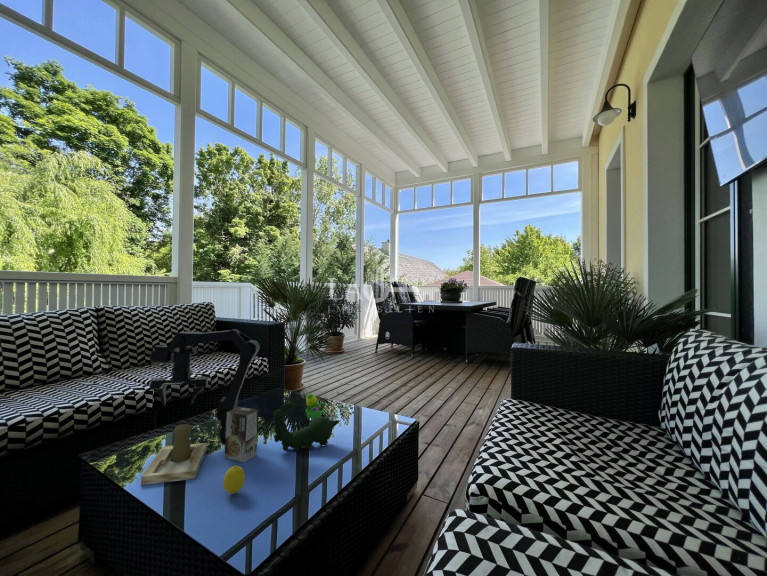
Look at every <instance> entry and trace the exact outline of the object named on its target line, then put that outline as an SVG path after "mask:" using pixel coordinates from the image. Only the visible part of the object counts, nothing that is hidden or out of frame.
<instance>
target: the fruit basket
mask: <svg viewBox="0 0 767 576" xmlns="http://www.w3.org/2000/svg"><path fill="white" fill-rule="evenodd" d="M305 399H306V400H305V401H306V402H305V403H306V406H307V407H306V409H305V413H306V417H307V419H308V418H311V419H314V418H316V417H319V416H321V415H322V413H323V414H324V412H325V408H326V405H327V404H326V403H325V402H324V403H323V402H320V403H319V402H318V401H319V400H318V398H317V397H316V396H315V395H314V394H313V393H307V395H306V398H305ZM322 416H323V415H322Z"/></svg>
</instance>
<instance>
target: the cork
mask: <svg viewBox="0 0 767 576" xmlns="http://www.w3.org/2000/svg"><path fill="white" fill-rule="evenodd" d="M192 429H193V428H192V425H191V424H188V423H185V424H184V423H183V424H180V425H177V426H175V428H174V430H173V435H174V442H173V445H172V446H173V450H172V454H171V459H170V461H171V462H183V461H186V460H188V459H190V456H191V450H190V444H191V440H190V434H191V433H192V431H193V430H192Z"/></svg>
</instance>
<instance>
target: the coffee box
mask: <svg viewBox="0 0 767 576" xmlns="http://www.w3.org/2000/svg"><path fill="white" fill-rule="evenodd" d="M259 415H260V409H256V408H250V407H245V406H237V408H235V409H233V410H231V411H228V412H227V421H226V439H225V442H224V443H225V444H224V458H225V459H229V460H232V461H237V462H239V463H240V462H241V463H246V462H247V461H249V460H251V459H253V458H254V457H256V456H257V451H258V431H259V417H260V416H259Z"/></svg>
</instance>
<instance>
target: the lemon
mask: <svg viewBox="0 0 767 576" xmlns="http://www.w3.org/2000/svg"><path fill="white" fill-rule="evenodd" d="M223 477H224V478H223V488H224V490H225V492H226V493H228V494H231V495H235V494H236V493H238V492H239V491H240V490H241V489H242V488H243V486H244V483H245V478H246V477H245V471H244V469H243V468H242V467H241V466H238V465H233V466H231V467H230V468H228V469H227V471H226V472H225V474H224V476H223Z"/></svg>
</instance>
